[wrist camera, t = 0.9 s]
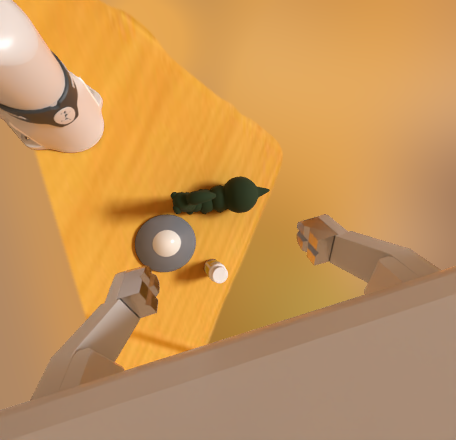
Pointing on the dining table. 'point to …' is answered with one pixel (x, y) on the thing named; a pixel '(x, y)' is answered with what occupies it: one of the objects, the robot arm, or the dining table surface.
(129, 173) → the dining table surface
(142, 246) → the charcoal plate
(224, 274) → the supplement bottle
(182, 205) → the toy figurine
